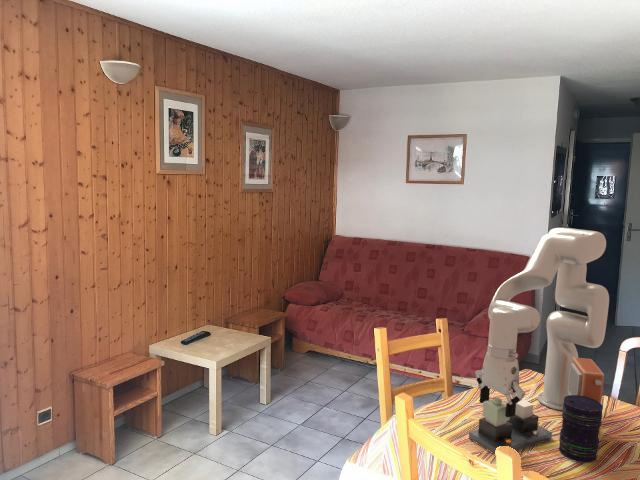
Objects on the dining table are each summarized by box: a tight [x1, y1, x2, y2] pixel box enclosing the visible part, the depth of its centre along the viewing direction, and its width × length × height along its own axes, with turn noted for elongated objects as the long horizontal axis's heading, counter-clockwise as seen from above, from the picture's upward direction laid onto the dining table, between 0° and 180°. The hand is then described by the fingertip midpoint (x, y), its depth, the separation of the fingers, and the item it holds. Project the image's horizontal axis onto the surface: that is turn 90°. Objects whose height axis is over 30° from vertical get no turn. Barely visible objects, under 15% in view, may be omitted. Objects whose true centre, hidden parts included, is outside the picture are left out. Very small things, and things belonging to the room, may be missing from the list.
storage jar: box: [558, 395, 604, 464], centre depth 147 cm, size 10×10×15 cm
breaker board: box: [468, 413, 553, 455], centre depth 154 cm, size 22×11×6 cm, turn 119°
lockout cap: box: [482, 397, 510, 424], centre depth 152 cm, size 5×5×6 cm
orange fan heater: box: [568, 357, 605, 404], centre depth 158 cm, size 21×7×15 cm
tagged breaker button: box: [485, 418, 506, 427], centre depth 152 cm, size 4×4×5 cm
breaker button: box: [515, 398, 534, 419], centre depth 157 cm, size 4×4×5 cm
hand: (496, 408), depth 152 cm, fingers open, 9 cm apart
